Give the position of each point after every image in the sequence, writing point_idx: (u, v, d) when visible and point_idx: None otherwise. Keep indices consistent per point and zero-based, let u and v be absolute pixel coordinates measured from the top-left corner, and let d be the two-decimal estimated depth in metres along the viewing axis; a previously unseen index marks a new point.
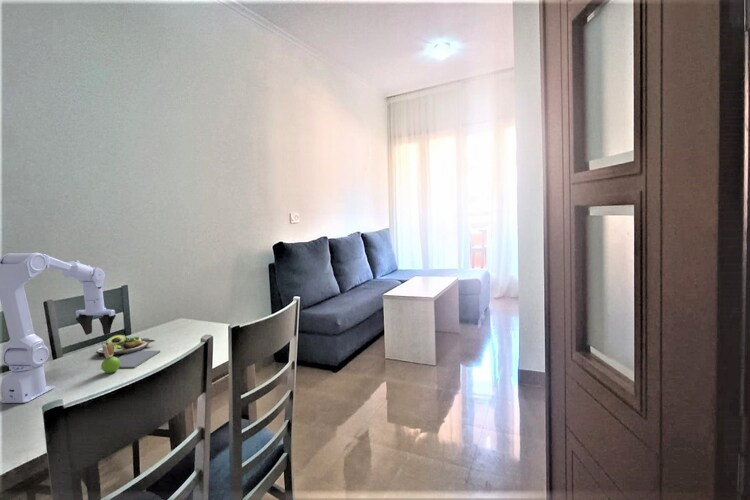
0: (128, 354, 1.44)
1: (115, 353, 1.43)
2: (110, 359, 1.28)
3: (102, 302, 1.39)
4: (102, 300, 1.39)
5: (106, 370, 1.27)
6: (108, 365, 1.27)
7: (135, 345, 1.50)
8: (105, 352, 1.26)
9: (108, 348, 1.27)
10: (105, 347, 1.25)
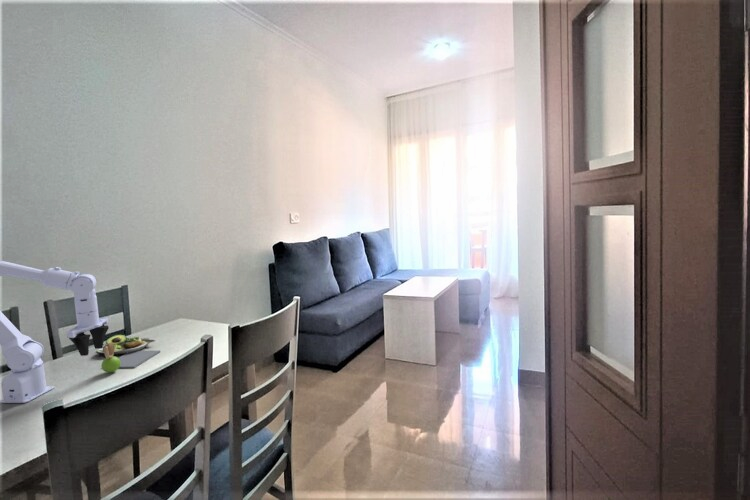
0: (128, 354, 1.44)
1: (115, 353, 1.43)
2: (110, 359, 1.27)
3: (82, 318, 1.17)
4: (82, 315, 1.17)
5: (106, 370, 1.27)
6: (108, 366, 1.26)
7: (135, 345, 1.50)
8: (106, 353, 1.25)
9: (109, 349, 1.26)
10: (106, 348, 1.24)
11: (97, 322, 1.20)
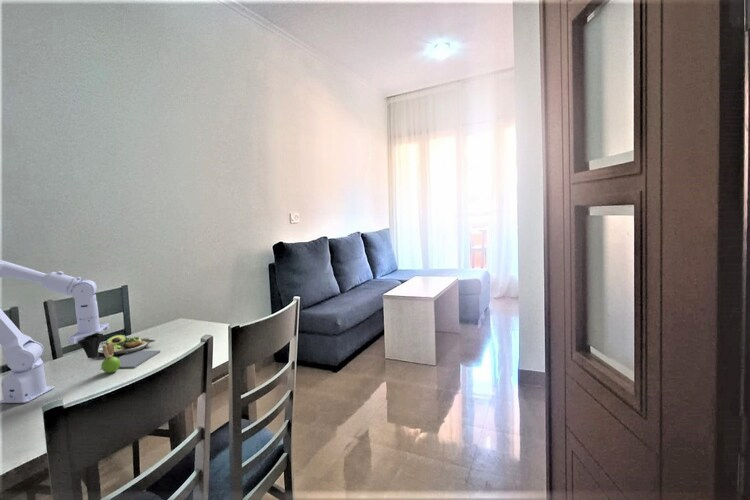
0: (128, 354, 1.44)
1: (115, 353, 1.43)
2: (110, 359, 1.28)
3: (83, 324, 1.17)
4: (83, 321, 1.17)
5: (106, 370, 1.27)
6: (108, 366, 1.27)
7: (135, 345, 1.50)
8: (105, 352, 1.25)
9: (108, 348, 1.27)
10: (105, 347, 1.25)
11: (98, 328, 1.20)
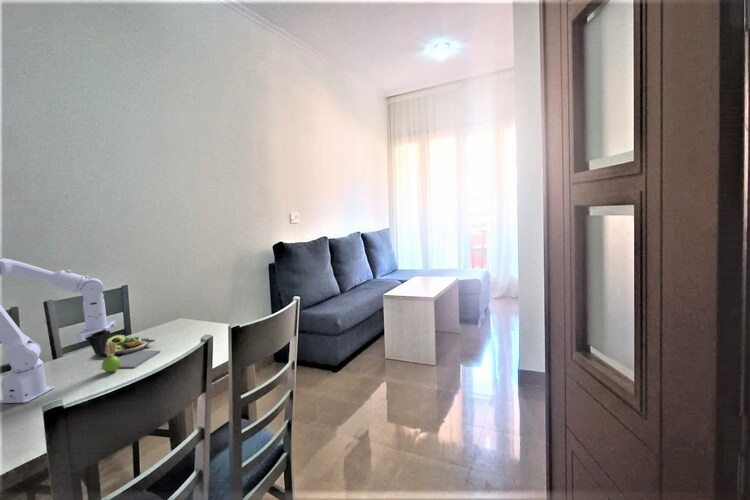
0: (128, 354, 1.44)
1: (115, 353, 1.43)
2: (111, 358, 1.28)
3: (90, 321, 1.20)
4: (91, 319, 1.20)
5: (106, 369, 1.27)
6: (109, 364, 1.27)
7: (135, 345, 1.50)
8: (107, 350, 1.26)
9: (110, 346, 1.28)
10: (107, 345, 1.26)
11: (105, 325, 1.23)
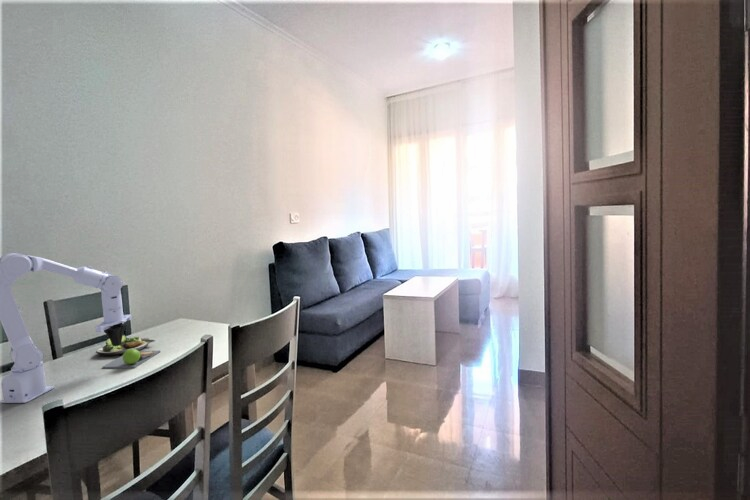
0: None
1: (115, 353, 1.43)
2: None
3: (109, 314, 1.28)
4: (109, 312, 1.28)
5: (137, 355, 1.34)
6: (139, 356, 1.35)
7: (135, 345, 1.50)
8: (148, 353, 1.40)
9: None
10: (151, 353, 1.42)
11: (122, 318, 1.31)
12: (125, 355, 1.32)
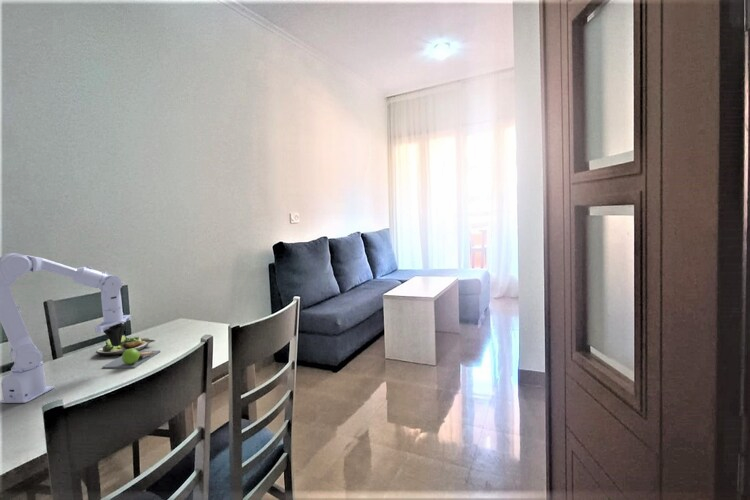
0: None
1: (115, 353, 1.43)
2: None
3: (108, 314, 1.28)
4: (108, 312, 1.28)
5: (135, 354, 1.34)
6: (139, 356, 1.35)
7: (135, 345, 1.50)
8: (148, 353, 1.40)
9: None
10: (151, 353, 1.42)
11: (121, 318, 1.31)
12: (124, 355, 1.32)
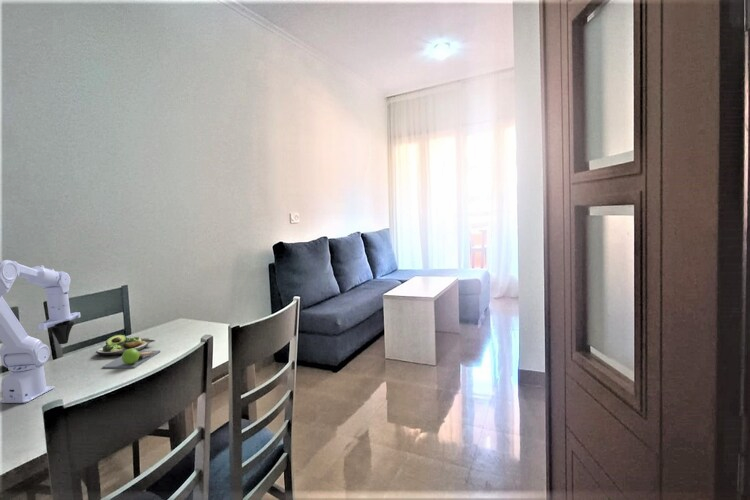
0: None
1: (115, 353, 1.43)
2: None
3: (53, 312, 1.25)
4: (54, 309, 1.25)
5: (135, 354, 1.34)
6: (139, 356, 1.35)
7: (135, 345, 1.50)
8: (148, 353, 1.40)
9: None
10: (151, 353, 1.42)
11: (68, 316, 1.29)
12: (124, 355, 1.32)
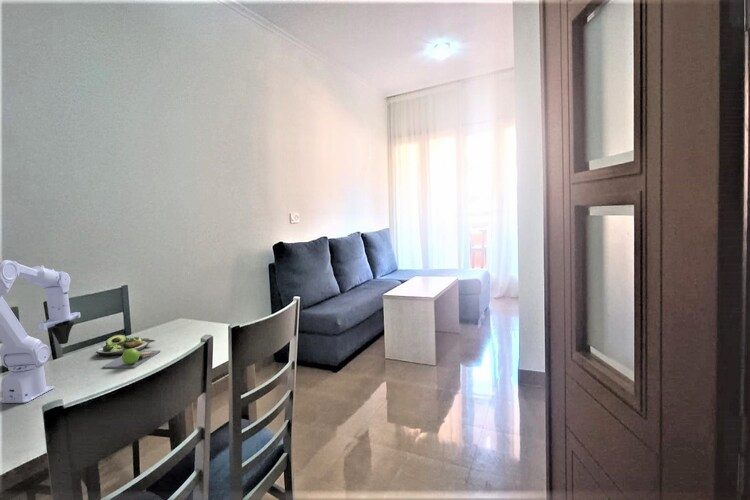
0: None
1: (115, 353, 1.43)
2: None
3: (53, 312, 1.25)
4: (54, 309, 1.25)
5: (135, 354, 1.34)
6: (139, 356, 1.35)
7: (135, 345, 1.50)
8: (148, 353, 1.40)
9: None
10: (151, 353, 1.42)
11: (68, 316, 1.29)
12: (124, 355, 1.32)
